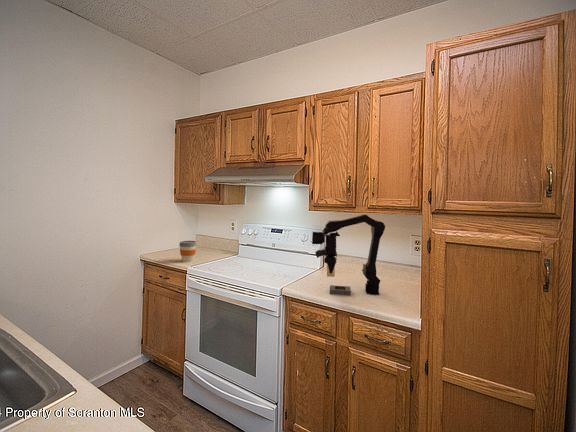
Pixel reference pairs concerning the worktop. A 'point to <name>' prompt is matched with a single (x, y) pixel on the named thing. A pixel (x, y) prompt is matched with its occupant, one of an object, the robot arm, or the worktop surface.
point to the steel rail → (340, 290)
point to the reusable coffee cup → (187, 250)
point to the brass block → (330, 273)
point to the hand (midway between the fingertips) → (330, 272)
